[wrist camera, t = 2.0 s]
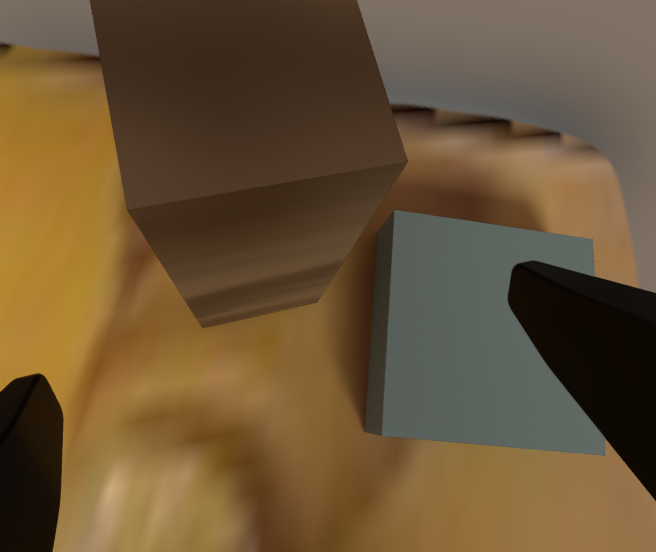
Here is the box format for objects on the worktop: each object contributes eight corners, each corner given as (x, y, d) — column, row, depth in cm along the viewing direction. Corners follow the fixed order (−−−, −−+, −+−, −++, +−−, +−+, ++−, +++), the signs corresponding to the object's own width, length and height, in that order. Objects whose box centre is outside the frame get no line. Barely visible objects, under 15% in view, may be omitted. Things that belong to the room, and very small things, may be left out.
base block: (559, 449, 22) (605, 455, 19) (363, 431, 21) (381, 435, 18) (552, 258, 24) (592, 239, 21) (376, 233, 23) (394, 209, 20)
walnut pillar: (317, 302, 21) (407, 161, 9) (202, 328, 20) (126, 209, 8) (290, 198, 23) (339, -56, 10) (180, 218, 21) (83, -37, 9)
